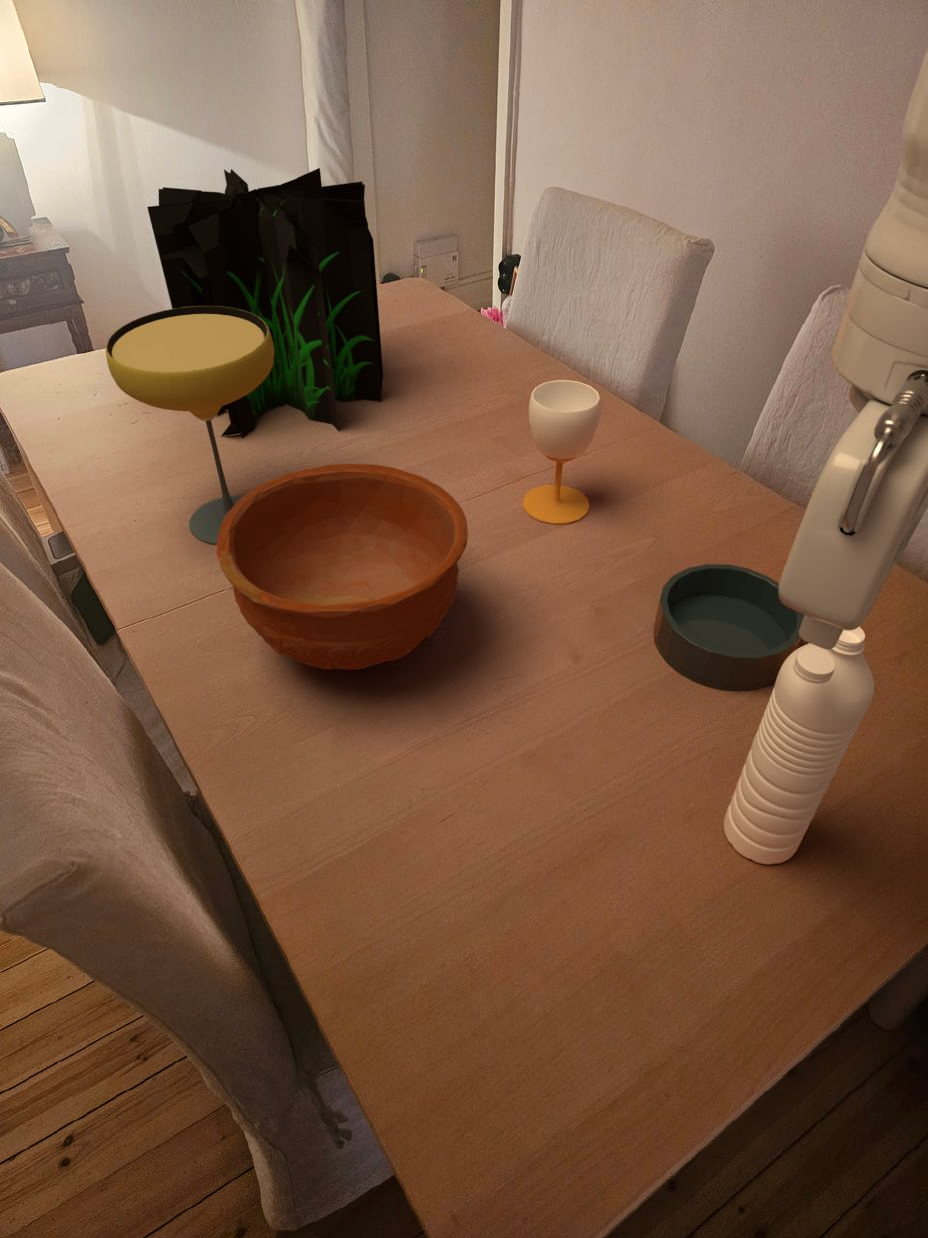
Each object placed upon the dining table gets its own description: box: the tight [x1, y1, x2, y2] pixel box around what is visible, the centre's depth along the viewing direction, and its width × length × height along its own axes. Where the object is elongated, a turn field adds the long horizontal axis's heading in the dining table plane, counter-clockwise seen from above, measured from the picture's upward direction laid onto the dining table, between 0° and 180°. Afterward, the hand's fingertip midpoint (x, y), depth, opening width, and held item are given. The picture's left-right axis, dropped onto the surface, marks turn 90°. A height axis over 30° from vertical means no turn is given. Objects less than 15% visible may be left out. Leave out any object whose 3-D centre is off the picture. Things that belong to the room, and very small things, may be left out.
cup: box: [521, 379, 602, 525], centre depth 105 cm, size 9×9×16 cm
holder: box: [653, 563, 804, 692], centre depth 90 cm, size 15×15×5 cm
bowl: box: [216, 463, 469, 671], centre depth 87 cm, size 25×25×15 cm
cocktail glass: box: [105, 306, 274, 546], centre depth 100 cm, size 18×18×25 cm
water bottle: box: [723, 626, 875, 865], centre depth 64 cm, size 9×6×25 cm
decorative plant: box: [146, 167, 384, 440], centre depth 123 cm, size 29×30×30 cm
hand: (848, 587), depth 44 cm, fingers open, 8 cm apart
